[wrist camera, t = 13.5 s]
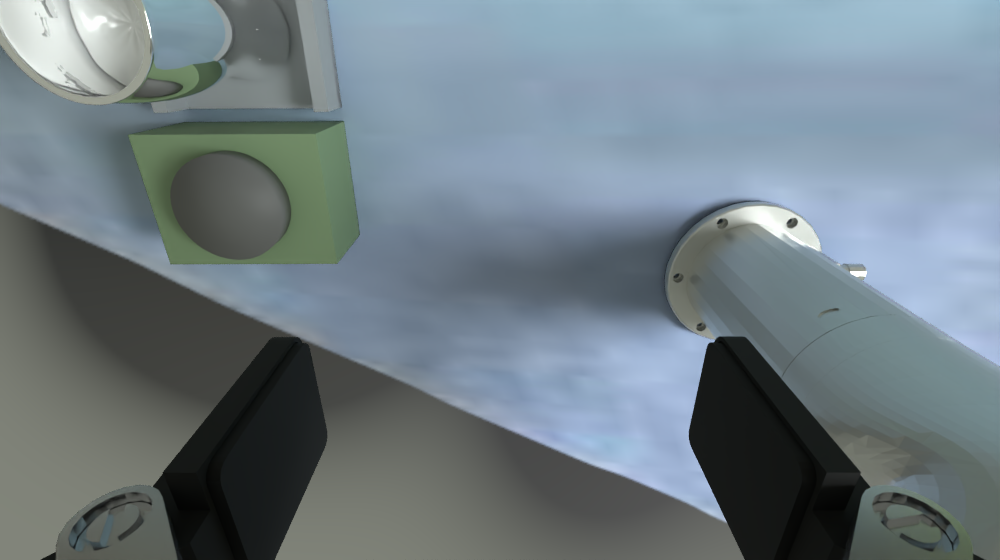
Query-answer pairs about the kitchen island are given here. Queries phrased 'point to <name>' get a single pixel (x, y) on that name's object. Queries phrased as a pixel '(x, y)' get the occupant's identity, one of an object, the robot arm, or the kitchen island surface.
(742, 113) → the kitchen island surface
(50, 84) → the beer glass
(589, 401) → the kitchen island surface
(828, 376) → the robot arm
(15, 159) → the kitchen island surface
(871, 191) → the kitchen island surface
